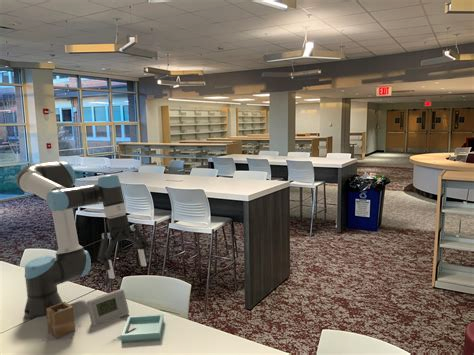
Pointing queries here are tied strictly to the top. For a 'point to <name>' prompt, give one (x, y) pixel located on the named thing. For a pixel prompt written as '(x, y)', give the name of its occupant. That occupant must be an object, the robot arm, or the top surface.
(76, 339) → the top surface
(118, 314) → the digital clock
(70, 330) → the wooden pen holder
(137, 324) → the tray
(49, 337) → the post base
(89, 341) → the top surface
